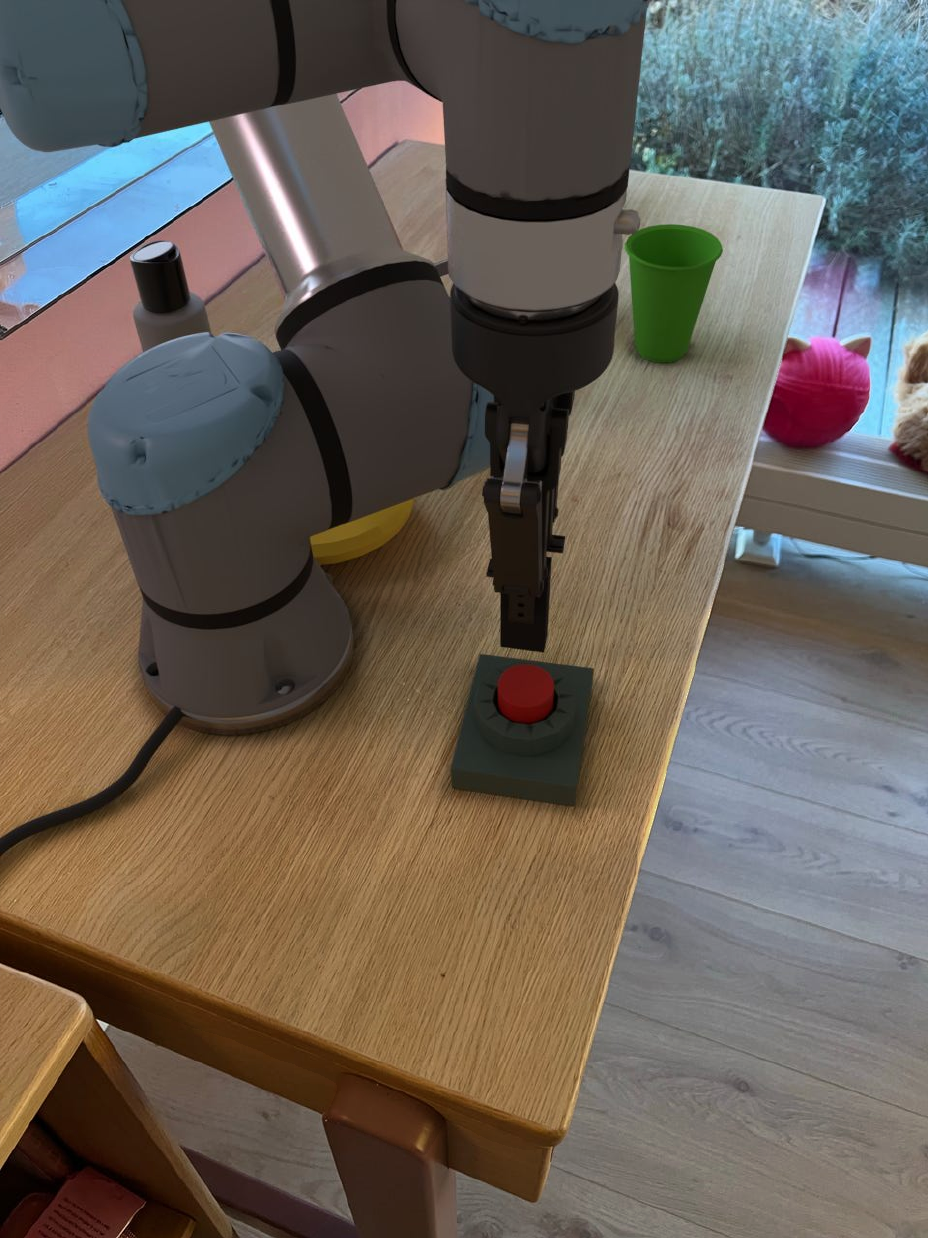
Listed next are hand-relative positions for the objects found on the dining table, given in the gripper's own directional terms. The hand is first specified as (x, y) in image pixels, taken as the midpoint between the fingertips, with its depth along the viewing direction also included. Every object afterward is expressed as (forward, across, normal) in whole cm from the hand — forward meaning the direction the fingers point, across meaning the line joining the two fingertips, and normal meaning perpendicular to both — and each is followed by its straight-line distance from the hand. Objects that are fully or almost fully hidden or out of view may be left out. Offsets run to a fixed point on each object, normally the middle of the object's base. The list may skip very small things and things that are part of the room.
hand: (524, 640), depth 61 cm
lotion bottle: (+10, +26, +33) cm, 43 cm away
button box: (+9, 0, 0) cm, 9 cm away
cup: (+10, +51, -6) cm, 52 cm away
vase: (+10, +19, +20) cm, 29 cm away
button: (+6, 0, 0) cm, 6 cm away
